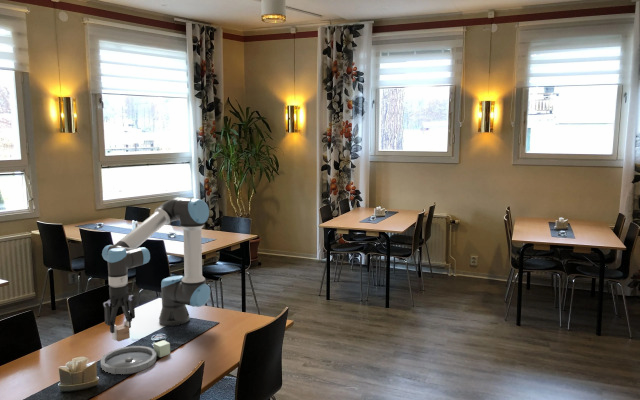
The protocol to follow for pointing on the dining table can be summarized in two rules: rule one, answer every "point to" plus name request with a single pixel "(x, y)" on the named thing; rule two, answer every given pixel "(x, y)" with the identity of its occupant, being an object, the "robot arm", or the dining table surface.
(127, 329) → the brown wooden cube
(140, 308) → the dining table surface
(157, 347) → the pale green cube
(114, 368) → the tray
